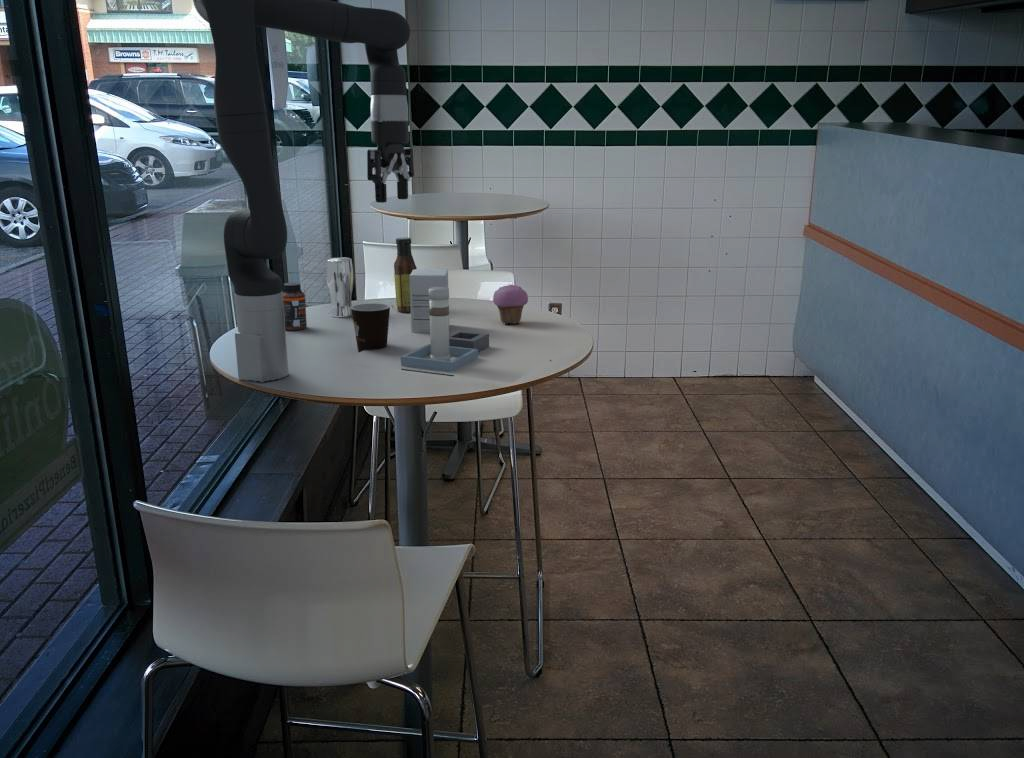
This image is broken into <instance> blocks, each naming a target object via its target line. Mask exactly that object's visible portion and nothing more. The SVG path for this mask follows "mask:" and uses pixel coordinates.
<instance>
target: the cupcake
mask: <svg viewBox="0 0 1024 758" xmlns="http://www.w3.org/2000/svg"><path fill="white" fill-rule="evenodd" d="M492 297H493V298H492V301H493V303H494V305H495V306H496V307H497V308H498V309H497V310H498V311H499V317H500V321H501V323H503V324H504V323H505V324H504V325H508V323H509V324H514V325H517V324H516V323H518V324H519V323H520V321H522V320H521V319H522V314H523V313H522V312H523V308H524V307H525V305H527V303H528V302H529V296H528V293H527V291H526V290H524V289H523V288H522V287H521V286H520V285H514V284H508V285H503V286H501V287H499V288H498V289H497V290H495V291H494V293H493V296H492Z"/></svg>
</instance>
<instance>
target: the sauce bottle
mask: <svg viewBox="0 0 1024 758" xmlns="http://www.w3.org/2000/svg"><path fill="white" fill-rule="evenodd" d="M395 244H396V250H397V252H396V253H397V256H396V259H395V261H394V262H393V270H394V271H393V272H394V274H393V275H394V276H393V277H394V289H395V302H396V303H395V304H396V309H397V312H399V313H406V312H408V313H411V306H410V277H409V276H410V274H411V272H412V271H413V270H415V269H418V268H417V265H416V263H415V260H414V257H413V254H412V245H411V244H412V238H411V237H409V236H408V237H407V236H406V237H402V236H401V237H396V238H395Z"/></svg>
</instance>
